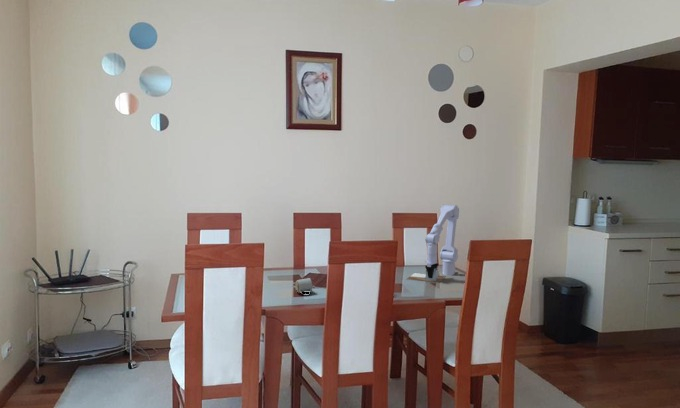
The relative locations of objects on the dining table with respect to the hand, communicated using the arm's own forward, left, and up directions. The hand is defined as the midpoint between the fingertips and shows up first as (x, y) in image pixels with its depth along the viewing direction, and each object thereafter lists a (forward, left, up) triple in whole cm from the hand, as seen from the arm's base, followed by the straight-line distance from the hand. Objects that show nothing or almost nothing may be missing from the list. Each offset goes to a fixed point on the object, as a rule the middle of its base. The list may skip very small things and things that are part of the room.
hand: (431, 276), depth 279 cm
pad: (-6, -9, -2) cm, 11 cm away
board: (-3, -4, -3) cm, 6 cm away
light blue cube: (0, 0, -2) cm, 2 cm away
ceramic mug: (+55, -55, -3) cm, 78 cm away
